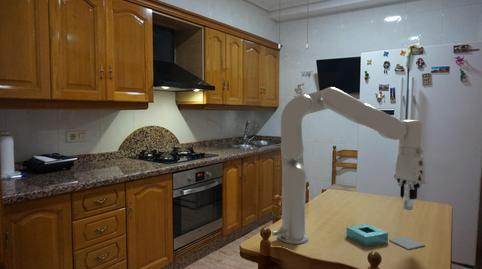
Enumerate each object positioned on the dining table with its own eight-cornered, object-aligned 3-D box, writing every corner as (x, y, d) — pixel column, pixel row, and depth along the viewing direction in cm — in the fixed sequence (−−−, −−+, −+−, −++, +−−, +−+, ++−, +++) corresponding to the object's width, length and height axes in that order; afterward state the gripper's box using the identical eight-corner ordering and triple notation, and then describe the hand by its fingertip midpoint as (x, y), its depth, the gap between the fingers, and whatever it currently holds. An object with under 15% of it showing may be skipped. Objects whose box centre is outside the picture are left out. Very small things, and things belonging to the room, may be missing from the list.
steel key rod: (408, 210, 120) (409, 185, 120) (401, 207, 124) (401, 183, 123) (415, 209, 122) (416, 184, 121) (407, 206, 125) (408, 182, 124)
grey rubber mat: (408, 249, 118) (408, 248, 118) (389, 240, 126) (389, 239, 126) (425, 245, 121) (425, 244, 121) (405, 237, 129) (405, 236, 129)
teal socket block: (366, 247, 120) (366, 237, 120) (346, 236, 131) (346, 227, 130) (387, 242, 124) (388, 232, 124) (367, 232, 135) (367, 223, 135)
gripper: (436, 153, 115) (434, 202, 116) (399, 148, 130) (397, 191, 131) (422, 154, 112) (420, 204, 113) (385, 149, 127) (384, 193, 129)
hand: (408, 197), depth 122 cm, fingers closed on steel key rod, 3 cm apart
